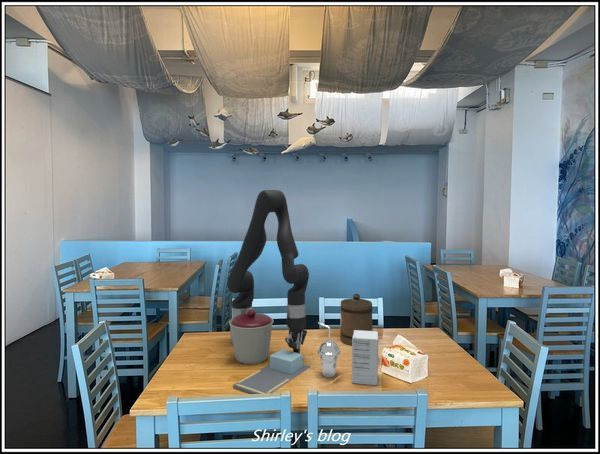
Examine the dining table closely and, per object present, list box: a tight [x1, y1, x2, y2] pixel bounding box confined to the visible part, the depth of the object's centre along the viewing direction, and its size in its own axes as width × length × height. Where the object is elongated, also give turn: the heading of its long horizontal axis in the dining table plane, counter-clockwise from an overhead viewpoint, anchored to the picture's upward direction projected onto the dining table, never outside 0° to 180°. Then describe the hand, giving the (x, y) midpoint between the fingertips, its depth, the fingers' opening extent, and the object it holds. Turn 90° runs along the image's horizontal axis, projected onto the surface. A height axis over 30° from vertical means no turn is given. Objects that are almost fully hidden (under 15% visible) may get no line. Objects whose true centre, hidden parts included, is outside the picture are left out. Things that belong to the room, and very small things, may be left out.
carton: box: [269, 348, 304, 374], centre depth 155 cm, size 10×8×5 cm
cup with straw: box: [317, 321, 341, 378], centre depth 148 cm, size 8×9×20 cm
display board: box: [232, 363, 312, 395], centre depth 148 cm, size 15×28×1 cm, turn 146°
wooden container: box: [339, 293, 373, 346], centre depth 186 cm, size 15×15×22 cm
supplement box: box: [351, 330, 379, 386], centre depth 147 cm, size 10×9×17 cm
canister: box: [228, 309, 274, 365], centre depth 164 cm, size 18×18×21 cm
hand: (296, 356), depth 160 cm, fingers closed
